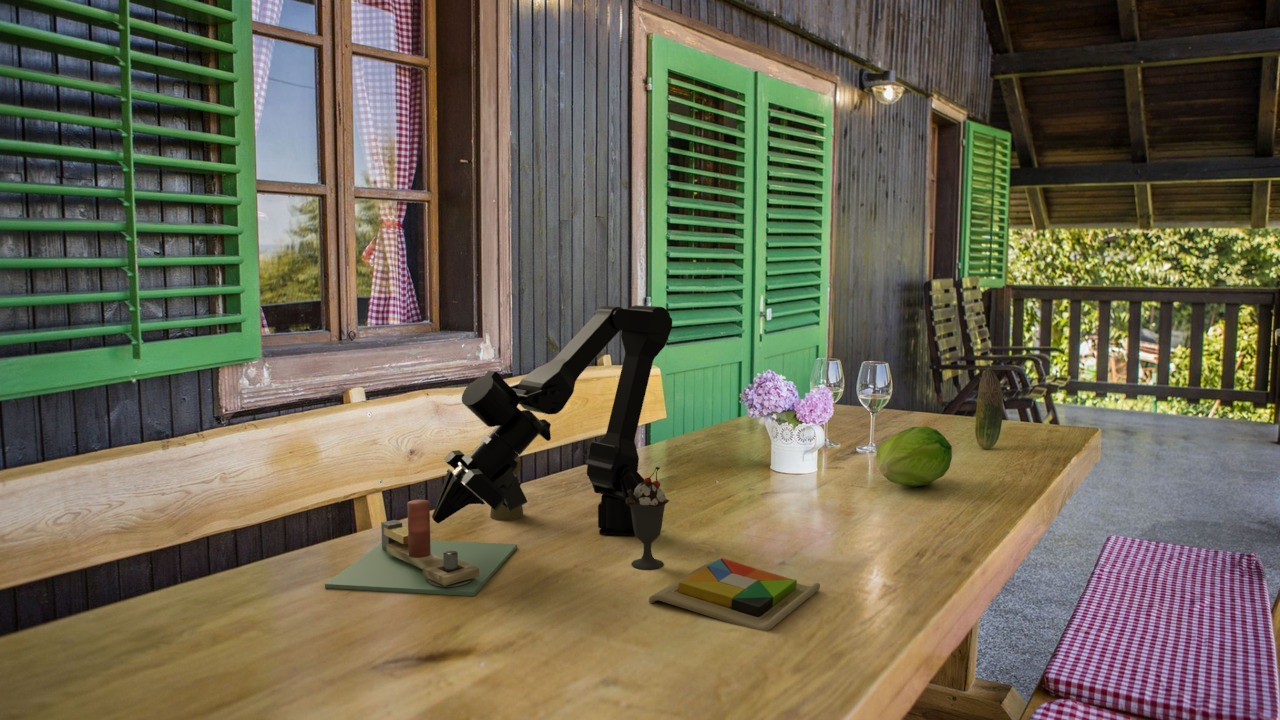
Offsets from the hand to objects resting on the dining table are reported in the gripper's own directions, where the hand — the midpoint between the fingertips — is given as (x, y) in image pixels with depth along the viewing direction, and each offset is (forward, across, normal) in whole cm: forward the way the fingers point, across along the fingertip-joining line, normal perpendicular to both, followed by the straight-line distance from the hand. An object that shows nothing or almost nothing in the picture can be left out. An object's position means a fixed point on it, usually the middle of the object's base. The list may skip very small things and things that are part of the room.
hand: (434, 520), depth 141 cm
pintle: (+5, -8, -6) cm, 11 cm away
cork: (-7, +24, -17) cm, 30 cm away
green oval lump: (-64, +14, -74) cm, 99 cm away
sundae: (-16, -10, -27) cm, 33 cm away
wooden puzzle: (-20, -28, -32) cm, 47 cm away
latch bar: (+6, -2, -3) cm, 7 cm away
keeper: (+8, +7, -2) cm, 11 cm away
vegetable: (-95, +40, -105) cm, 147 cm away
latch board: (+6, +1, -4) cm, 8 cm away
